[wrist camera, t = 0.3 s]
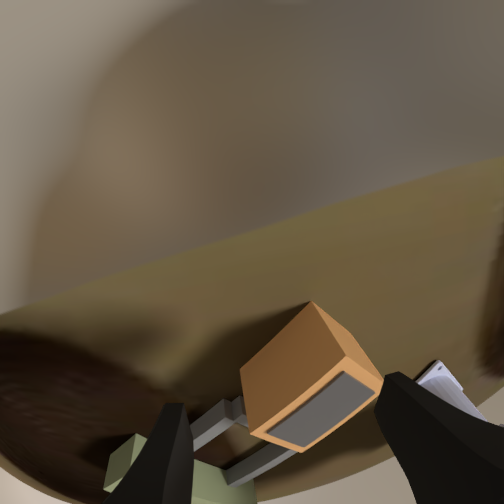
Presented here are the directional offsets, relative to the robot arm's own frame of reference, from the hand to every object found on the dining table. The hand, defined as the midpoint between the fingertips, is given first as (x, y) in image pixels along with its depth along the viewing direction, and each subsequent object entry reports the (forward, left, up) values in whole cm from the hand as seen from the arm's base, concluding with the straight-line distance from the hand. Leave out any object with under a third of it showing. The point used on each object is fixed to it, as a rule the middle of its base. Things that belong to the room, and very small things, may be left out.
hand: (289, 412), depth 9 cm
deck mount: (-8, +15, -10) cm, 20 cm away
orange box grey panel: (-5, +2, -10) cm, 11 cm away
